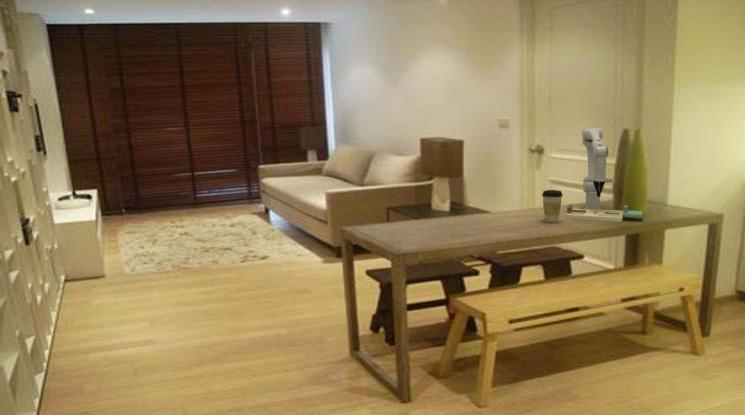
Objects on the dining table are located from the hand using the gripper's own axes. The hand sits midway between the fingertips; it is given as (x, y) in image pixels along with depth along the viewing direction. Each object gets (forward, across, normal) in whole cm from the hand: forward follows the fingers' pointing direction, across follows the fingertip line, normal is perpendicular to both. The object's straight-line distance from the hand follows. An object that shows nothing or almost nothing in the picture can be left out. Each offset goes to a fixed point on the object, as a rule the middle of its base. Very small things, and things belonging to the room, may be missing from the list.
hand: (598, 196), depth 311 cm
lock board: (+10, -1, -4) cm, 11 cm away
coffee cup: (+10, -20, -20) cm, 30 cm away
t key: (+8, -10, -4) cm, 13 cm away
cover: (+8, +16, -5) cm, 19 cm away
